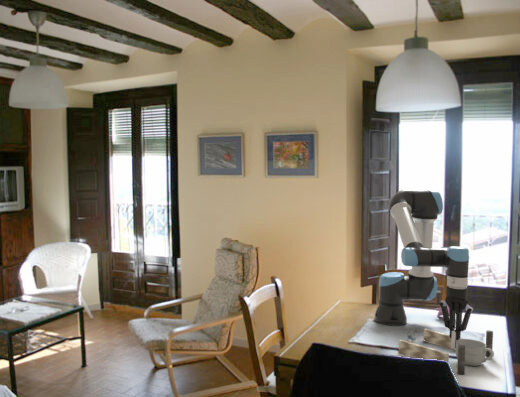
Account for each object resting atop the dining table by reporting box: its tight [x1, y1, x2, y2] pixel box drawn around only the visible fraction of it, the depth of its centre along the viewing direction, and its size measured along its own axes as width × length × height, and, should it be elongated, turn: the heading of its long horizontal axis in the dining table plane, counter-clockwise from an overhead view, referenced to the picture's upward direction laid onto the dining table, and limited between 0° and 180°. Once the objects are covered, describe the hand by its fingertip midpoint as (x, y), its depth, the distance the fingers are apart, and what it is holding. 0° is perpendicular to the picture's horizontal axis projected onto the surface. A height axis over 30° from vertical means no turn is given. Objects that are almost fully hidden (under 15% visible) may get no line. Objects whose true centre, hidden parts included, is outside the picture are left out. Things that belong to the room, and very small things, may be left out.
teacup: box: [455, 338, 495, 367], centre depth 183 cm, size 14×11×8 cm
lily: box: [433, 299, 450, 318], centre depth 240 cm, size 12×12×10 cm
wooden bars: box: [397, 328, 494, 376], centre depth 192 cm, size 27×27×10 cm
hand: (454, 347), depth 188 cm, fingers closed
